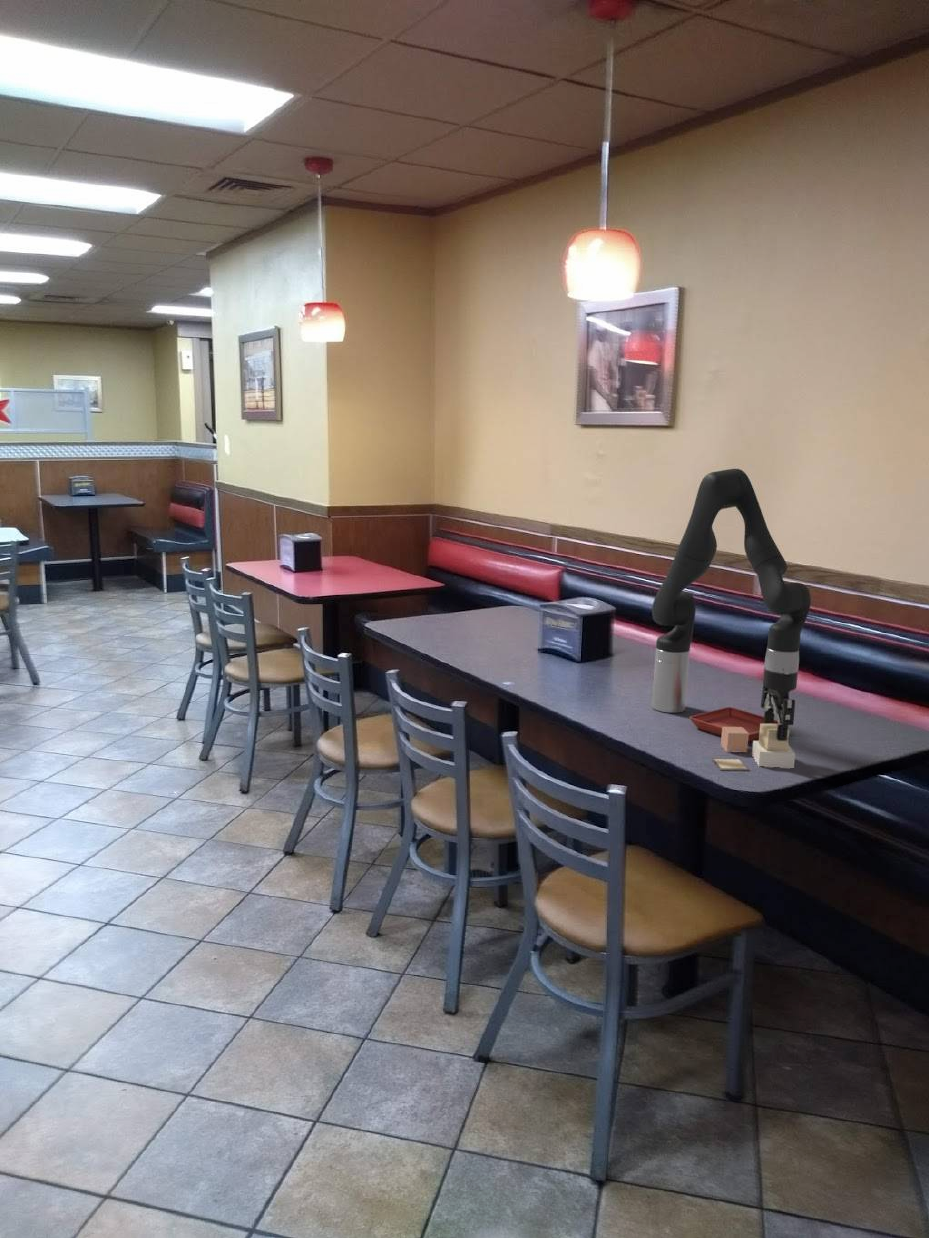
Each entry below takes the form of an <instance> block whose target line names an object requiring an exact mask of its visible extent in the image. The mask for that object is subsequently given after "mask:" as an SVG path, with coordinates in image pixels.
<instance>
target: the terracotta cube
mask: <svg viewBox="0 0 929 1238" xmlns="http://www.w3.org/2000/svg"><path fill="white" fill-rule="evenodd" d="M748 737H749V733H748V732H747V731H746V730H745V729H744V728H743V727H722V736H720V738H721V739H720V747H723V748H724V749H723V748H722V749H723V750H724V751H725V752H726V751H741V752H747V753H748V749H749V748H748V746H749V742H748Z"/></svg>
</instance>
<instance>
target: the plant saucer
mask: <svg viewBox="0 0 929 1238" xmlns="http://www.w3.org/2000/svg"><path fill="white" fill-rule="evenodd" d="M689 719H690V721H691V722H692V723H693V724H694V725H695V727H696V728H698V729H699V730H702V731H704V732H705V731H706V732H707V733H711V732H712V733H711V734H714V733H715V734H714V735H717V734H718V735H717V736H720V735H721V736H720V737H722V727H743V728H744V729H745V730H746V731H747V732H748V733H749V737H748V741H749V742H753V741H756V740H759V739H758V738H759V733H760V724H763V723H764V715H760V714H759V715H758V714H756V713H752V712H749V711H746V710H741V709H738V708H735V707H731V706H729V707H723V708H719V709H716V710H712V711H711V710H710V711H707V712H703V713H699V714H695V715H692V716H689ZM774 724H778V720H777V719H776V720H775V719H774ZM755 739H756V740H755Z"/></svg>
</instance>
